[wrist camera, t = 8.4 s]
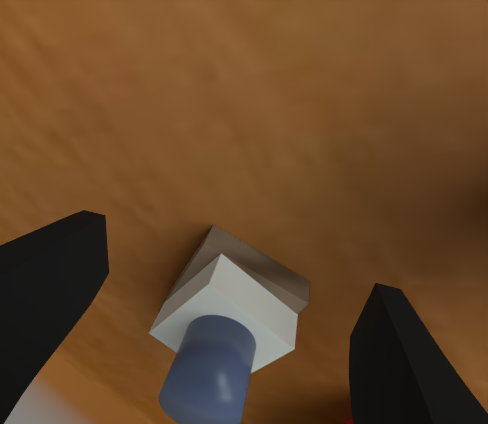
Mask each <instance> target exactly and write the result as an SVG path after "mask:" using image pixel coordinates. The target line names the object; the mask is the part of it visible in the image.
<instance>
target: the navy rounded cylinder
mask: <svg viewBox="0 0 488 424" xmlns="http://www.w3.org/2000/svg"><path fill="white" fill-rule="evenodd" d="M255 351H256V342H255V339H254V336H253V335H252V333H251V332H250V331H249V330H248V329H247V328H246V327H245V326H244V325H242V324H241V323H239V322H238V321H236V320H234V319H231V318H228V317H225V316H220V315H205V316H201V317H198V318H196V319H194V320H193V321H192V322H191V323H190V324H189V326H188V328H187V330H186V333H185V335H184V337H183V340H182V342H181V344H180V347H179V349H178V352H177V354H176V356H175V359H174V361H173V363H172V366H171V368H170V371H169V373H168V375H167V378H166V380H165V382H164V385H163V387H162V390H161V392H160V395H159V402H160V405H161V407H162V408H163V410H164V411H165V412H166V414H167V415H168V416H170V417H171V418H172V419H173V420H175V421H176V422H178V423H179V424H240V422H241V418H242V413H243V408H244V404H245V399H246V394H247V389H248V384H249V380H250V375H251V370H252V365H253V360H254V355H255Z"/></svg>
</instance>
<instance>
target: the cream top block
mask: <svg viewBox="0 0 488 424" xmlns="http://www.w3.org/2000/svg"><path fill="white" fill-rule="evenodd" d="M205 315H220V316H225V317H228V318H231V319H234V320H236V321H238V322H239V323H241V324H242V325H244V326H245V327H246V328H247V329H248V330H249V331H250V332H251V333H252V335H253V336H254V339H255V342H256V351H255V355H254V360H253V365H252V370H251V373H253V372H254V371H256V370H258V369H260V368H262V367H264V366H265V365H267V364H269V363H271V362H273V361H274V360H276V359H278V358H280V357H282V356H283V355H285V354H287V353H289V352H291V351H292V350H294V349H295V339H296V328H297V317H298V314H296V313H295V312H294V311H293V310H291V309H290V308H289V307H288V306H286V305H285V304H284V303H283V302H281V301H280V300H279V299H278V298H276V297H275V296H274V295H273V294H271V293H270V292H269V291H268V290H266V289H265V288H264V287H263V286H261V285H260V284H259V283H258V282H256V281H255V280H254V279H253V278H251V277H250V276H249V275H248V274H246V273H245V272H244V271H243V270H241V269H240V268H239V267H238V266H237V265H235V264H234V263H233V262H232V261H230V260H229V259H228V258H227V257H225V256H224V255H223V254H222V253H221V254H220V255H219V256H218V257H216V258H215V259H214V260H213V261H212V262H211V263H209V264H208V265H207V266H206V267H205V268H204V269H203V270H201V271H200V272H199V273H198V274H197V275H196V276H194V277H193V278H192V279H191V280H190V281H189V282H187V283H186V284H185V285H184V286H183V287H182V288H181V289H179V290H178V291H177V292H176V293H175V294H174V295H172V296H171V297H170V298H169V299H168V300H167V301H165V302H164V304H163V306H162V308H161V310H160V312H159V314H158V316H157V318H156V320H155V322H154V323H153V325H152V327H151V329H150V331H149V334H151V335H152V336H153V337H155V338H156V339H158V340H159V341H161V342H162V343H163V344H165V345H166V346H168V347H169V348H171V349H172V350H173V351H175V352H176V353H177V352H178V349H179V347H180V344H181V342H182V340H183V337H184V335H185V333H186V330H187V328H188V326H189V324H190V323H191V322H192V321H193V320H194V319H196V318H198V317H201V316H205Z"/></svg>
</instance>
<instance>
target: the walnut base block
mask: <svg viewBox="0 0 488 424" xmlns="http://www.w3.org/2000/svg"><path fill="white" fill-rule="evenodd" d="M221 253H222V254H223V255H224V256H225V257H227V258H228V259H229V260H230V261H232V262H233V263H234V264H235V265H237V266H238V267H239V268H240V269H241V270H243V271H244V272H245V273H246V274H248V275H249V276H250V277H251V278H253V279H254V280H255V281H256V282H258V283H259V284H260V285H261V286H263V287H264V288H265V289H266V290H268V291H269V292H270V293H271V294H273V295H274V296H275V297H276V298H278V299H279V300H280V301H281V302H283V303H284V304H285V305H286V306H288V307H289V308H290V309H291V310H293V311H294V312H295V313H296V314H299V313H300V312H301V311H302V310H303V309H304V308H305V307H306V306H307V305H308V304H309V294H310V281H308V280H306V279H305V278H303V277H301V276H300V275H298V274H296V273H295V272H293V271H291V270H290V269H288V268H286V267H285V266H283V265H281V264H280V263H278V262H276V261H274V260H273V259H271V258H269V257H268V256H266V255H264V254H263V253H261V252H259V251H258V250H256V249H254V248H253V247H251V246H249V245H248V244H246V243H244V242H242V241H241V240H239V239H237V238H236V237H234V236H232V235H231V234H229V233H227V232H226V231H224V230H222V229H221V228H219V227H217V226H215V225H214V224H213V226H212V227H211V229H210V230H209V232H208V233H207V235H206V236H205V238H204V240H203V241H202V243H201V244H200V246H199V247H198V249H197V250H196V252H195V253H194V255H193V256H192V258H191V259H190V261H189V262H188V264H187V265H186V267H185V268H184V270H183V271H182V273H181V274H180V276H179V277H178V279H177V280H176V282H175V283H174V285H173V286H172V288H171V289H170V291H169V293H168V295H167V297H166V299H165V300H164V302H165V301H167V300H168V299H169V298H170V297H171V296H172V295H174V294H175V293H176V292H177V291H178V290H179V289H181V288H182V287H183V286H184V285H185V284H186V283H187V282H189V281H190V280H191V279H192V278H193V277H194V276H196V275H197V274H198V273H199V272H200V271H201V270H203V269H204V268H205V267H206V266H207V265H208V264H209V263H211V262H212V261H213V260H214V259H215V258H216V257H218V256H219V255H220V254H221ZM164 302H163V304H164ZM163 304H162V306H163ZM162 306H161V308H162ZM161 308H160V310H161ZM160 310H159V312H160Z"/></svg>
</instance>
